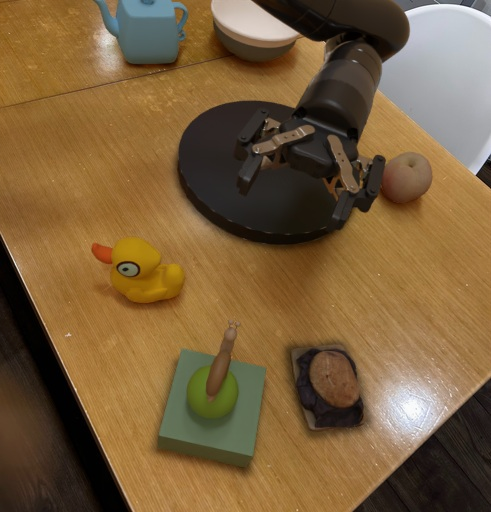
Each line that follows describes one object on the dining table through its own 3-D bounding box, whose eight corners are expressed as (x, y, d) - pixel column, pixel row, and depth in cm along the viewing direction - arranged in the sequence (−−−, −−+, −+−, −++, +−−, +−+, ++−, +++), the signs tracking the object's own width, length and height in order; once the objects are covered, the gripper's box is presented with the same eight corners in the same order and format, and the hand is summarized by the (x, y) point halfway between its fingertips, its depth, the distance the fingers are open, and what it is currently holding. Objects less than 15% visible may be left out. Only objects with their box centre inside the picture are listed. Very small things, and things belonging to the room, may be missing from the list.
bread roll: (285, 350, 64) (292, 337, 61) (345, 345, 66) (355, 333, 63) (303, 433, 58) (312, 423, 56) (369, 425, 60) (381, 415, 57)
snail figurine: (242, 376, 56) (263, 327, 46) (227, 432, 52) (246, 391, 42) (196, 362, 56) (207, 310, 46) (177, 416, 52) (186, 372, 42)
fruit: (368, 176, 87) (386, 141, 80) (410, 178, 88) (431, 144, 82) (380, 211, 82) (400, 177, 76) (424, 213, 84) (447, 179, 77)
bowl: (271, 22, 111) (280, -16, 104) (310, 72, 102) (322, 35, 95) (193, 28, 104) (196, -12, 97) (227, 82, 95) (233, 43, 88)
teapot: (87, 32, 97) (82, -28, 88) (178, 32, 102) (182, -25, 93) (96, 71, 90) (91, 10, 81) (192, 69, 96) (197, 11, 87)
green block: (156, 448, 55) (158, 435, 51) (178, 365, 61) (181, 347, 57) (244, 467, 55) (253, 456, 51) (258, 383, 61) (266, 367, 57)
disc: (379, 239, 78) (387, 227, 76) (191, 251, 71) (193, 239, 68) (324, 114, 95) (329, 101, 92) (166, 113, 87) (167, 99, 85)
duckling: (91, 302, 64) (84, 257, 56) (101, 267, 67) (96, 220, 59) (179, 314, 65) (184, 272, 57) (185, 280, 68) (191, 236, 60)
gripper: (281, 55, 51) (220, 146, 42) (410, 105, 50) (378, 211, 41) (266, 113, 57) (209, 204, 48) (381, 160, 56) (347, 263, 47)
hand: (287, 207), depth 44 cm, fingers open, 8 cm apart
